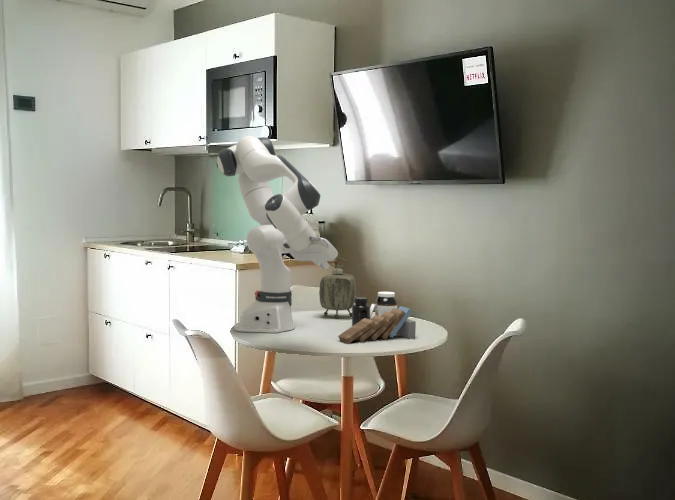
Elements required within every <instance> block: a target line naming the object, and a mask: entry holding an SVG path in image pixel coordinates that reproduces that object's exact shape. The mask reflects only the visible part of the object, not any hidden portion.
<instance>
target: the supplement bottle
mask: <svg viewBox="0 0 675 500" xmlns="http://www.w3.org/2000/svg"><path fill="white" fill-rule="evenodd" d="M368 303H369V302H368V297H365V296H363V297H361V296H359V297H357V296H356V298H355V303H354V305H353V307H352V308H351V313H352V317H351V327H352V326H354V325H355V324H356V323H358V322H359V321H361V320H362V319H364V318H366V319H369V320H370V319H371V318H370V307H371V306H369V304H368Z"/></svg>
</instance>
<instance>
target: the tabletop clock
mask: <svg viewBox="0 0 675 500" xmlns="http://www.w3.org/2000/svg"><path fill="white" fill-rule="evenodd" d="M336 259H337V260H343V261H344V263H345V264H342V265H340V264H339V263H337V264H336V265H335V264H332V261H329V265H331V266H332V267H334V269H333V270H332V271H331V273H328V274H326V275H324V276H322V277H321V279H320V284H319V292H318V294H319V295H318V296H319V303H320V306H321V308H323V309H325V311H324V312H323V315H324V316H328V314H329V313H328V311H329V310H330V311H331V310H332V311H335V313H336V314H335V315H334V317H335V319H338V318H339V317H340V316H339V314H338V312H339V311H348V316H349V317H351V318H352V311H350V309H351V310H352V307H353V305H355V298H357V282H356V277H355V276H354V275H352V274H349V273H348V274H347V273H345V271H344V269H343V268H344V267H346V265H347V263H348V262H347V260H346V259H345V258H343V257H341V256H337V257H336V258H335V259H334V260H336Z"/></svg>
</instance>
